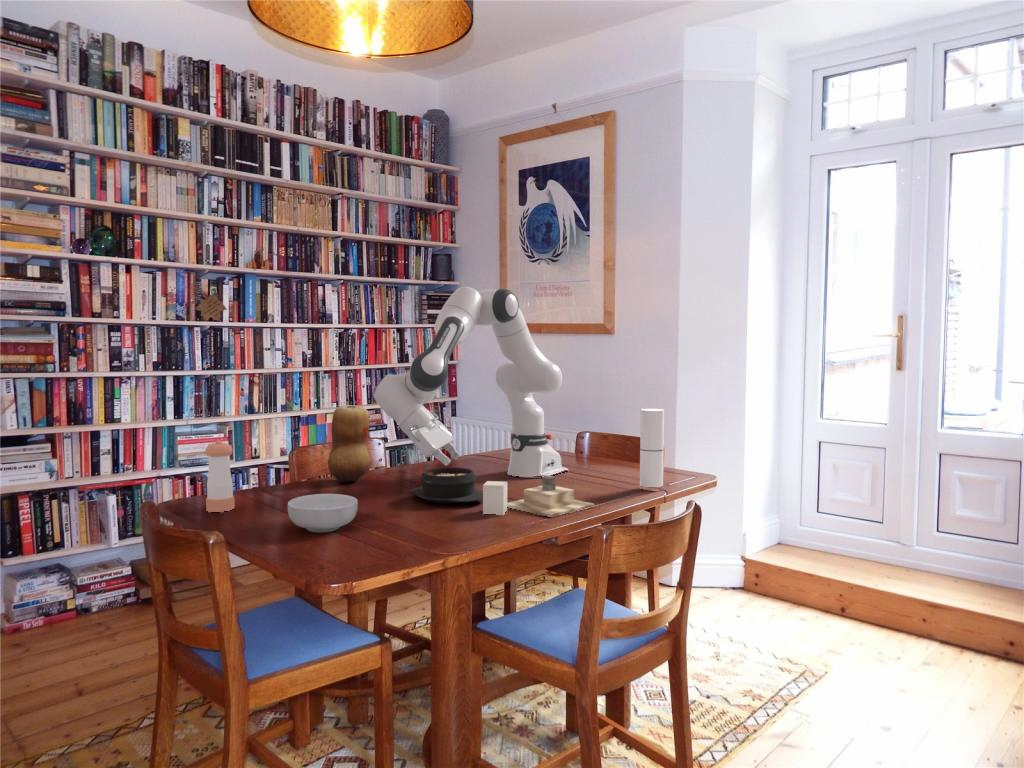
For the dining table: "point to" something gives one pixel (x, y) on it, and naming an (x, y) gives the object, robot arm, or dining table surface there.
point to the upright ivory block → (495, 497)
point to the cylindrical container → (651, 447)
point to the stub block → (548, 499)
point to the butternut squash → (349, 443)
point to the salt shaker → (219, 478)
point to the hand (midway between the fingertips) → (453, 460)
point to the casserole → (448, 485)
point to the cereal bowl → (322, 511)
